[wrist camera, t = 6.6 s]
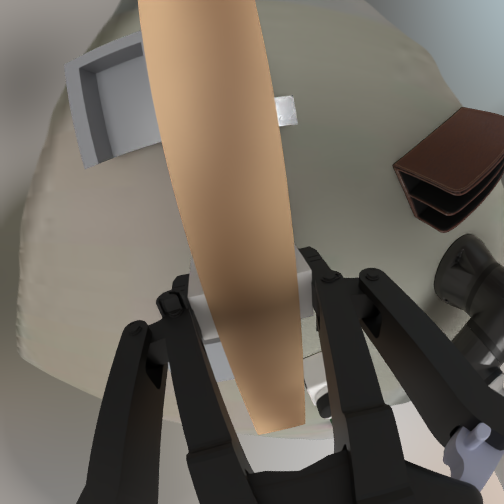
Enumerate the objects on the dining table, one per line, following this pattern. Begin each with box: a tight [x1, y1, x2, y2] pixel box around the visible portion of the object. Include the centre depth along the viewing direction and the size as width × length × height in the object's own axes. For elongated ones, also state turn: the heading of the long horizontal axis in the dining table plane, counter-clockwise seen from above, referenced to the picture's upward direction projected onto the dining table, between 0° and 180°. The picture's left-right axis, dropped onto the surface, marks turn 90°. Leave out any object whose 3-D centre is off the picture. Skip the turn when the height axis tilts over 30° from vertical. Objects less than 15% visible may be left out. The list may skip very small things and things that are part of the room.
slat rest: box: [274, 95, 298, 126], centre depth 30 cm, size 5×23×5 cm, turn 10°
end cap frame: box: [64, 31, 235, 382], centre depth 27 cm, size 9×39×10 cm, turn 10°
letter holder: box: [393, 107, 504, 233], centre depth 27 cm, size 10×20×14 cm, turn 129°
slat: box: [138, 0, 305, 435], centre depth 13 cm, size 4×28×2 cm, turn 10°
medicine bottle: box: [303, 351, 332, 419], centre depth 43 cm, size 7×7×12 cm
